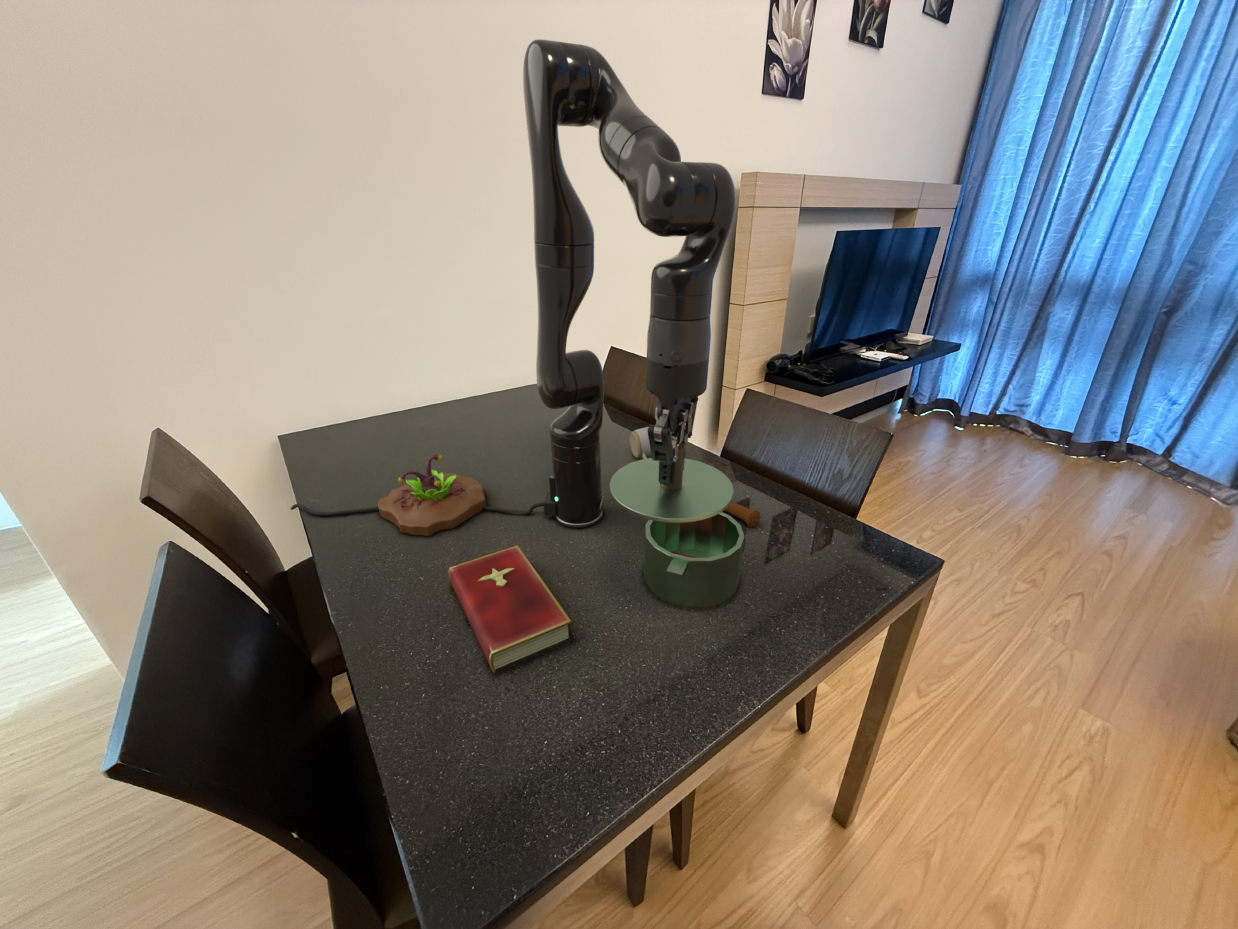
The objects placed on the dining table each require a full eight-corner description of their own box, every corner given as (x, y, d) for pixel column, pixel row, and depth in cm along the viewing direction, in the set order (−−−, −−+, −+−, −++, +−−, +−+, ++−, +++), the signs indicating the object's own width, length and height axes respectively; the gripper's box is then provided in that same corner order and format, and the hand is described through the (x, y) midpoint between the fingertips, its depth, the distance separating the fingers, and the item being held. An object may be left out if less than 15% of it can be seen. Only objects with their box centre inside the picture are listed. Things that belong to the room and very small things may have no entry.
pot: (624, 605, 83) (624, 556, 79) (665, 534, 100) (667, 490, 96) (722, 633, 78) (728, 582, 73) (748, 553, 95) (754, 508, 90)
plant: (504, 505, 110) (498, 457, 105) (417, 546, 97) (405, 493, 92) (452, 474, 122) (445, 429, 117) (369, 507, 109) (356, 459, 104)
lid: (588, 509, 69) (587, 460, 65) (636, 455, 82) (637, 413, 79) (715, 539, 63) (721, 487, 59) (744, 476, 76) (749, 431, 73)
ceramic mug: (627, 452, 132) (628, 423, 128) (657, 446, 134) (658, 419, 131) (644, 471, 123) (645, 441, 119) (675, 465, 125) (677, 436, 122)
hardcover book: (492, 676, 71) (488, 653, 69) (450, 587, 87) (446, 566, 85) (572, 641, 76) (571, 619, 74) (519, 563, 92) (517, 544, 90)
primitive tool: (680, 491, 114) (681, 477, 113) (698, 483, 117) (699, 469, 116) (749, 531, 101) (751, 516, 99) (767, 521, 104) (770, 506, 102)
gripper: (667, 336, 70) (662, 451, 78) (626, 364, 59) (625, 496, 67) (722, 342, 68) (711, 461, 76) (691, 373, 56) (682, 509, 64)
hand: (671, 477), depth 71 cm, fingers closed on lid, 3 cm apart
